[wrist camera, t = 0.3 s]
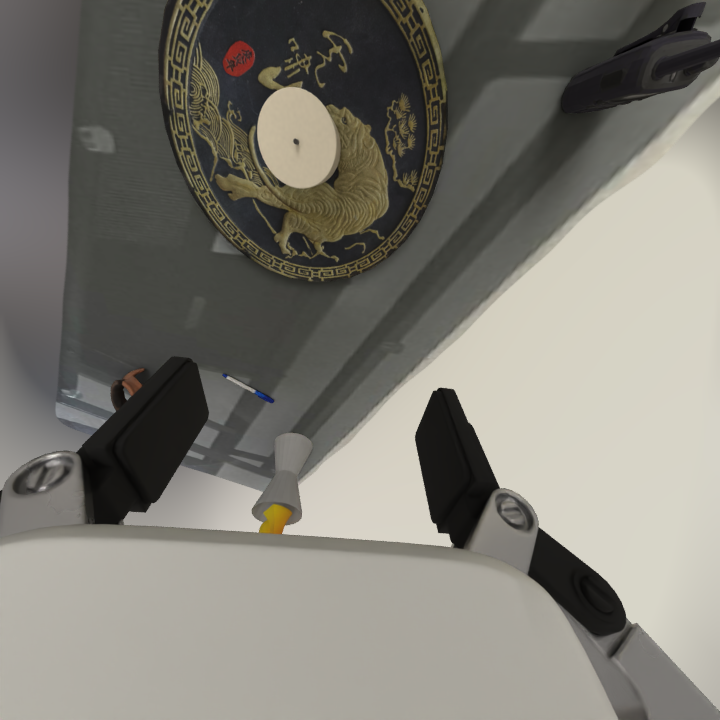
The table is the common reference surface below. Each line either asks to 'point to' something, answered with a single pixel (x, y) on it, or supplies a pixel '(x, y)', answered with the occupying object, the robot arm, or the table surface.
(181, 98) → the decorative plate
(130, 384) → the pottery mug
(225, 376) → the ballpoint pen
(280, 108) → the candle
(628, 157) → the table surface
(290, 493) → the lava lamp
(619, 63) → the two-way radio
